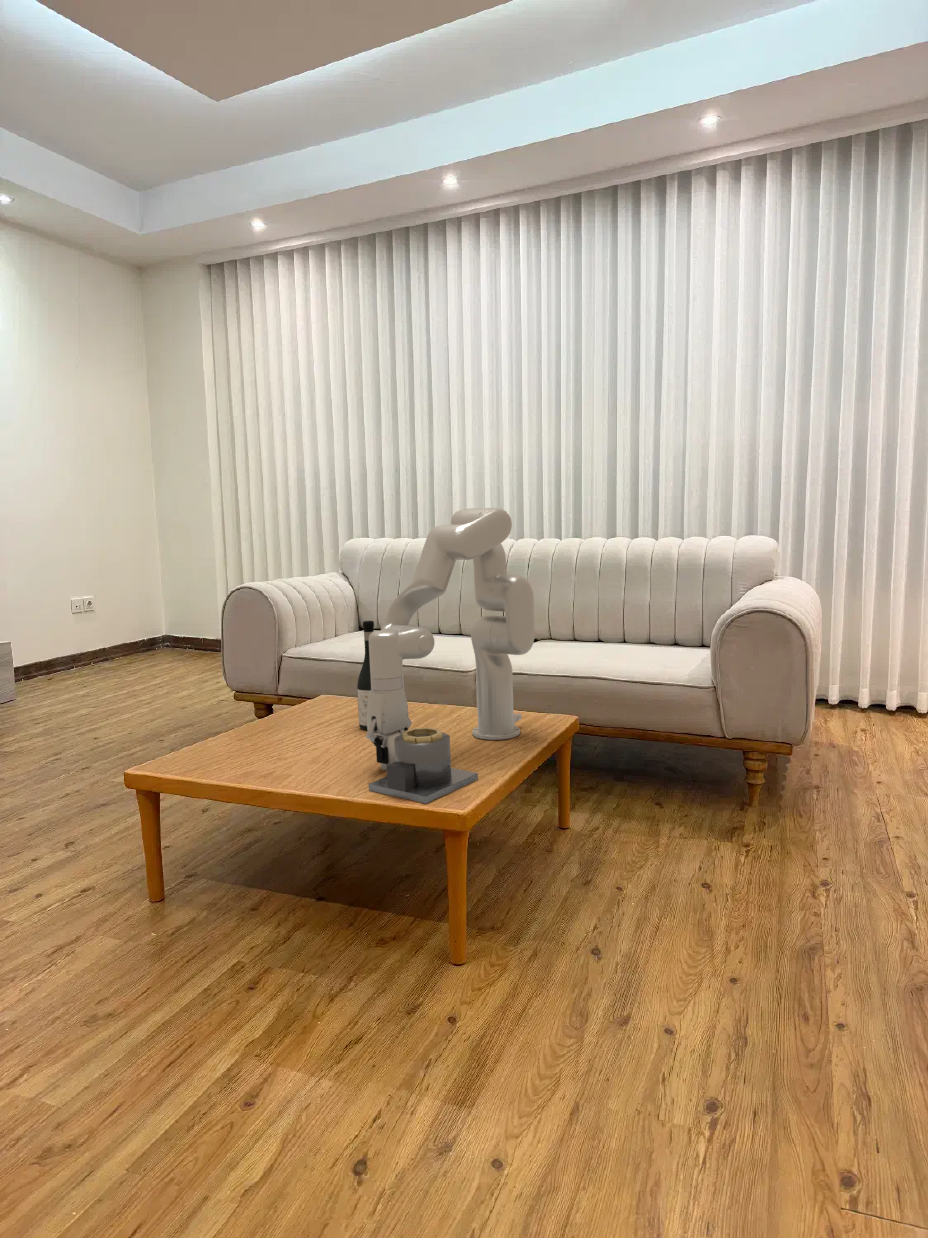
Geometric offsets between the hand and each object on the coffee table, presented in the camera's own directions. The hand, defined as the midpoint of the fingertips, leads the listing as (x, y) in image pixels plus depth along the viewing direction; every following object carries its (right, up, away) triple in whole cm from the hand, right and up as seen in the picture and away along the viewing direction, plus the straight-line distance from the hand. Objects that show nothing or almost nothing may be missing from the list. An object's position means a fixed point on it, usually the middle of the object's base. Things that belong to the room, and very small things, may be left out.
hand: (390, 759), depth 196 cm
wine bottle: (-8, +2, +37) cm, 38 cm away
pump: (0, -2, 0) cm, 2 cm away
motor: (+9, -3, -13) cm, 16 cm away
